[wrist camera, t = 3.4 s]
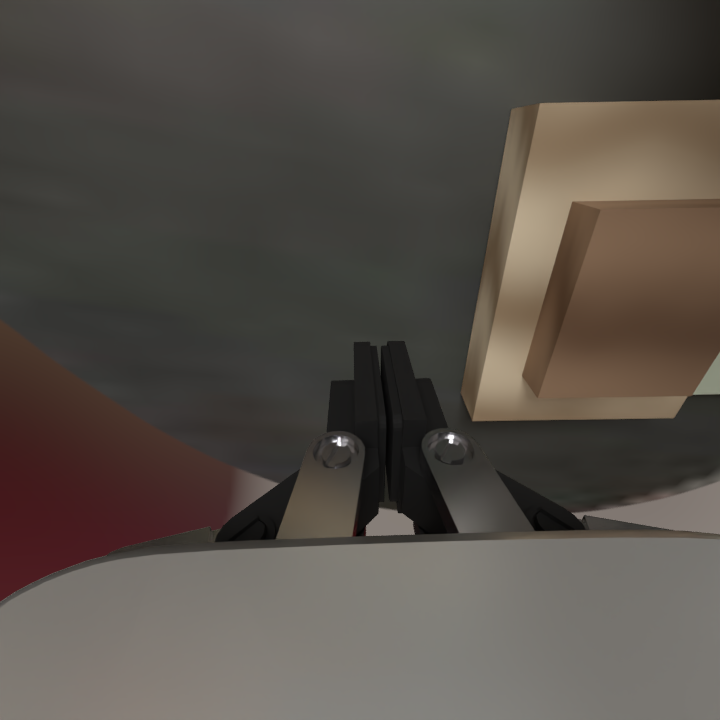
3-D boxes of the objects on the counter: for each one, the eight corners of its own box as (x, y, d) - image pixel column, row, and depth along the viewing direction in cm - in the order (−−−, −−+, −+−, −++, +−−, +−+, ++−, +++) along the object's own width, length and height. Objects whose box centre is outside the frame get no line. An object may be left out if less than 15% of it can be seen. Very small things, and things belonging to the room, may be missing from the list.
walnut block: (572, 201, 13) (600, 209, 11) (759, 198, 13) (812, 205, 11) (521, 375, 17) (537, 398, 16) (662, 373, 17) (691, 396, 16)
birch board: (511, 109, 13) (539, 103, 11) (794, 103, 13) (876, 96, 11) (460, 392, 21) (472, 421, 19) (642, 390, 21) (673, 418, 19)
